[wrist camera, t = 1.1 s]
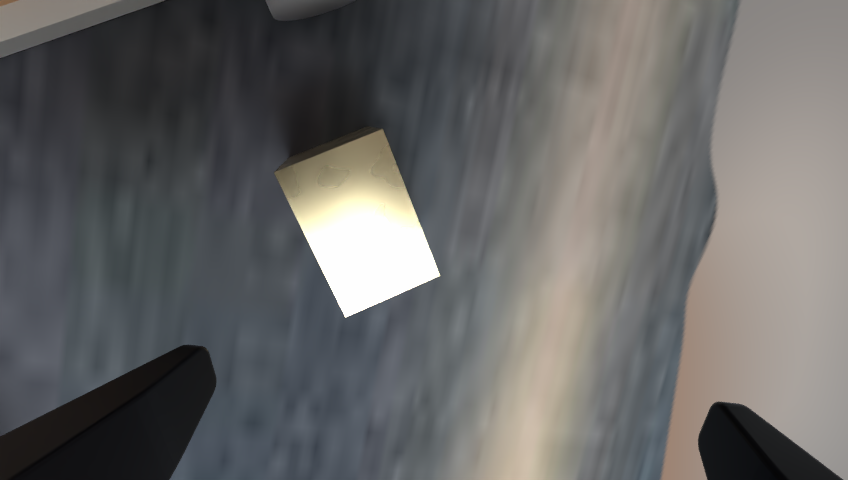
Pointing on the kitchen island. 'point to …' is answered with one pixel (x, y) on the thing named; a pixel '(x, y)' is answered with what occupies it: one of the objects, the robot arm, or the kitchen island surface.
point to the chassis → (106, 17)
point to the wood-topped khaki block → (358, 218)
